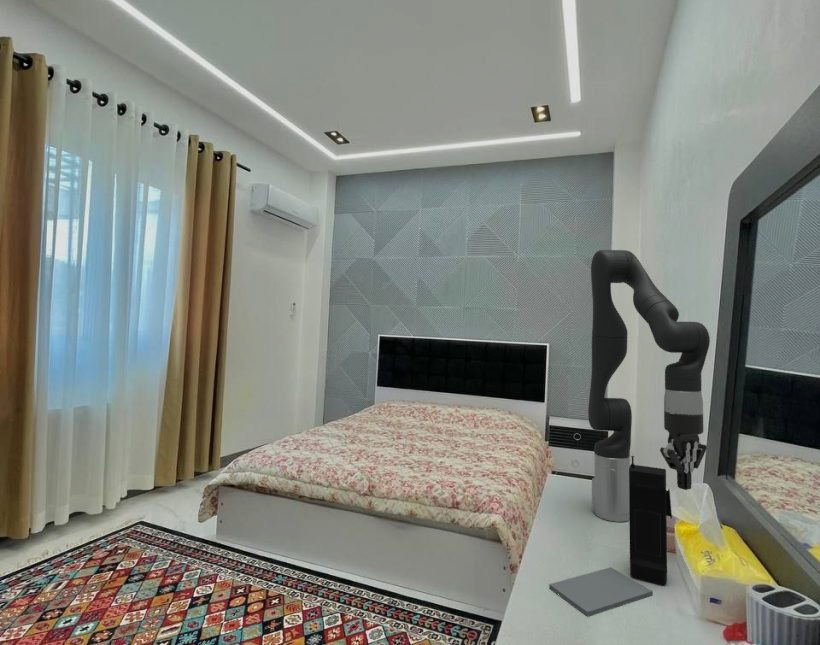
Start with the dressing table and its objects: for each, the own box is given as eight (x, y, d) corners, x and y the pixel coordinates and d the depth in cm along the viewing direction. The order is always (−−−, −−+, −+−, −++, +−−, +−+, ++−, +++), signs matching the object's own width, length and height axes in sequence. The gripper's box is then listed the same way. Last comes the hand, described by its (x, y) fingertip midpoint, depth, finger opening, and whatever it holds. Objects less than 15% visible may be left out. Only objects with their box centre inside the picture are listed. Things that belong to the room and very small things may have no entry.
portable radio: (672, 575, 96) (671, 456, 96) (672, 588, 90) (671, 463, 91) (631, 565, 100) (630, 451, 100) (629, 577, 94) (628, 458, 95)
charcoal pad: (549, 588, 90) (549, 584, 90) (611, 570, 97) (611, 567, 97) (587, 616, 81) (587, 612, 81) (652, 595, 88) (652, 591, 88)
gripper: (686, 406, 107) (687, 480, 106) (647, 409, 101) (648, 487, 101) (719, 411, 100) (720, 489, 99) (679, 414, 94) (680, 498, 94)
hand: (684, 488), depth 100 cm, fingers closed
